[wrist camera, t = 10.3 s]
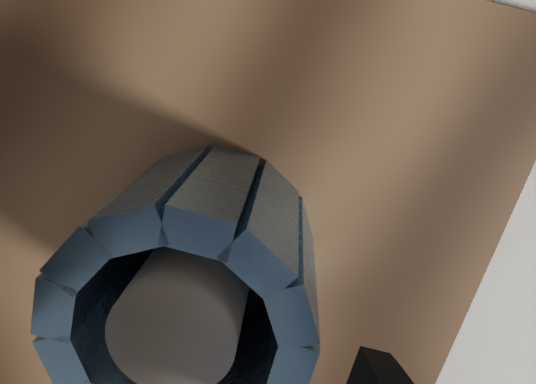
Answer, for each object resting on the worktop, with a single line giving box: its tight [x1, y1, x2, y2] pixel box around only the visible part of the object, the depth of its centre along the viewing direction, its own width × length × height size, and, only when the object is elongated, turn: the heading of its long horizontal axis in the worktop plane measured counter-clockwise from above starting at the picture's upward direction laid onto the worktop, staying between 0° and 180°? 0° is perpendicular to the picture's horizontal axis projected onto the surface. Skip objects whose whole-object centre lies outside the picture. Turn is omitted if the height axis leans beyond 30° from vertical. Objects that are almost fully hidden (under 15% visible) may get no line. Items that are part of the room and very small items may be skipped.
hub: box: [30, 145, 320, 384], centre depth 11 cm, size 6×6×5 cm
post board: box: [0, 0, 536, 384], centre depth 12 cm, size 16×16×6 cm
